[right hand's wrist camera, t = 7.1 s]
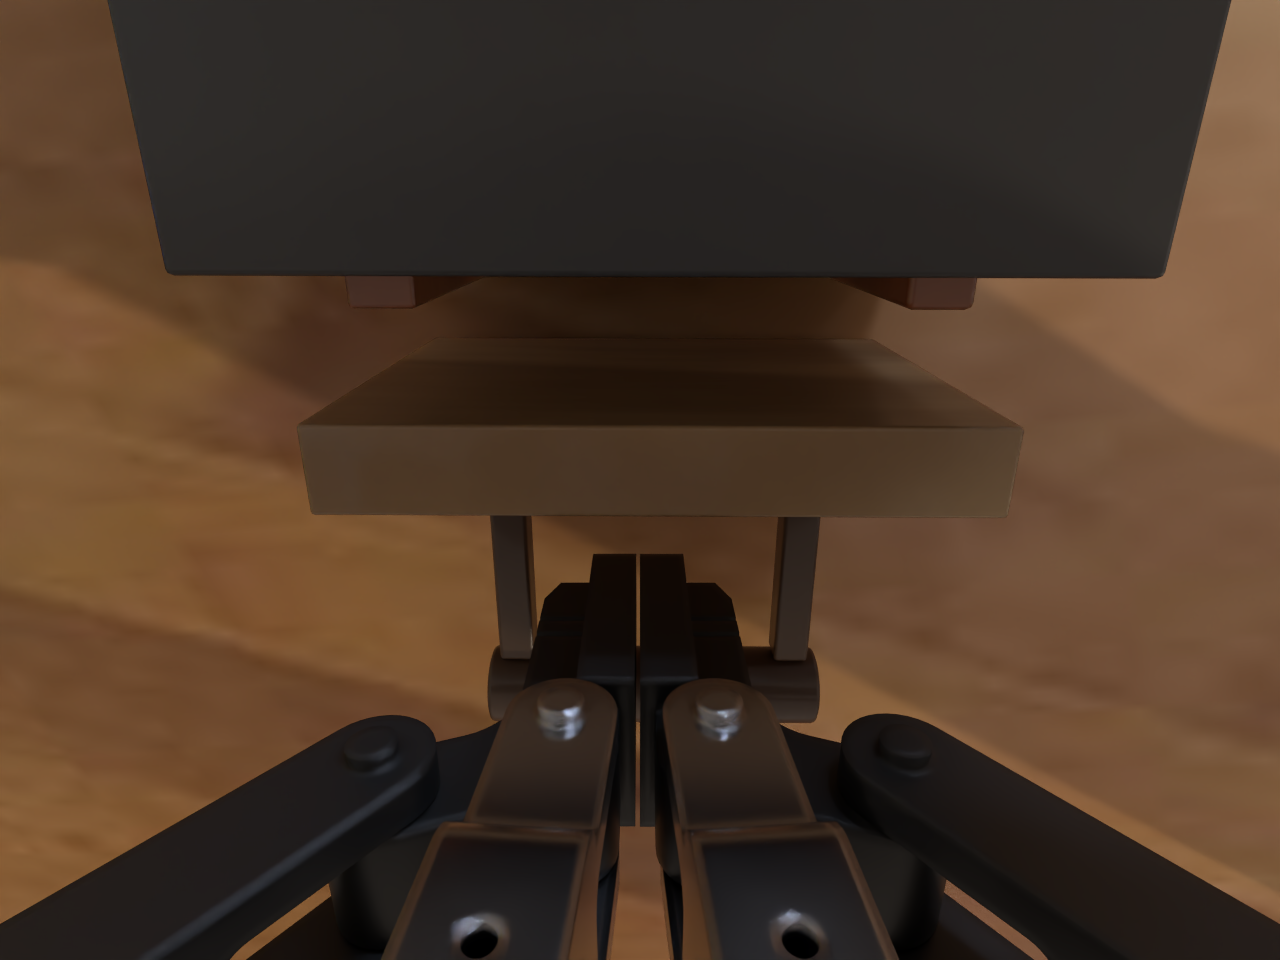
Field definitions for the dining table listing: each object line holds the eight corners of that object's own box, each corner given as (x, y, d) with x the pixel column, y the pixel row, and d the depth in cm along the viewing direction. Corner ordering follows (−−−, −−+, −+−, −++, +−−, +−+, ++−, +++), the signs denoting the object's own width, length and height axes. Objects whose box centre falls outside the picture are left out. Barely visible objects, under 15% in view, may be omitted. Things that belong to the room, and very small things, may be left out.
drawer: (842, 617, 17) (947, 836, 11) (460, 615, 17) (363, 831, 11) (987, -661, 10) (1476, -1894, 4) (339, -657, 10) (-93, -1878, 4)
